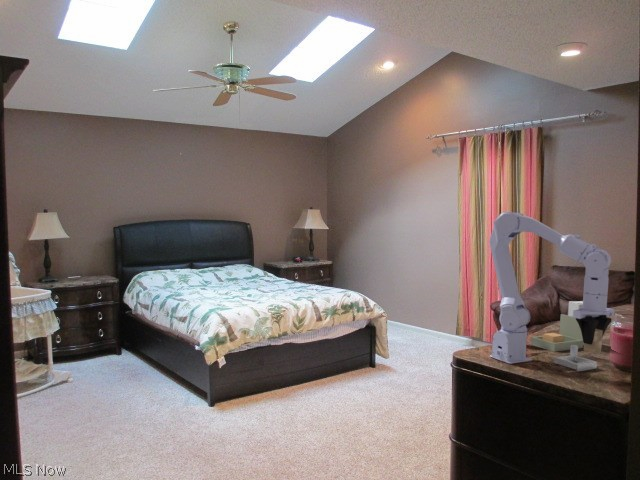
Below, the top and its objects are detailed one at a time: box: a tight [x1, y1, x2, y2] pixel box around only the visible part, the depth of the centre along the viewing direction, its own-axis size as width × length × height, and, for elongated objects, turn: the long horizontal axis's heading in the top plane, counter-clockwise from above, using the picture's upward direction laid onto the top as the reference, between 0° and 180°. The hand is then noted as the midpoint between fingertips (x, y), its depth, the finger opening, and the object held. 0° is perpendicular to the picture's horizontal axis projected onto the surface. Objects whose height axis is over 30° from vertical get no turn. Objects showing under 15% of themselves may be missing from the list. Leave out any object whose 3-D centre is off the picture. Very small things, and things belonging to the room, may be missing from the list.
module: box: [542, 332, 564, 343], centre depth 164 cm, size 5×4×4 cm
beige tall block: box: [583, 329, 603, 354], centre depth 135 cm, size 3×3×6 cm
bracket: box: [553, 345, 598, 372], centre depth 143 cm, size 8×8×5 cm
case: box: [530, 313, 584, 353], centre depth 165 cm, size 15×9×10 cm, turn 117°
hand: (591, 343), depth 135 cm, fingers closed on beige tall block, 3 cm apart
